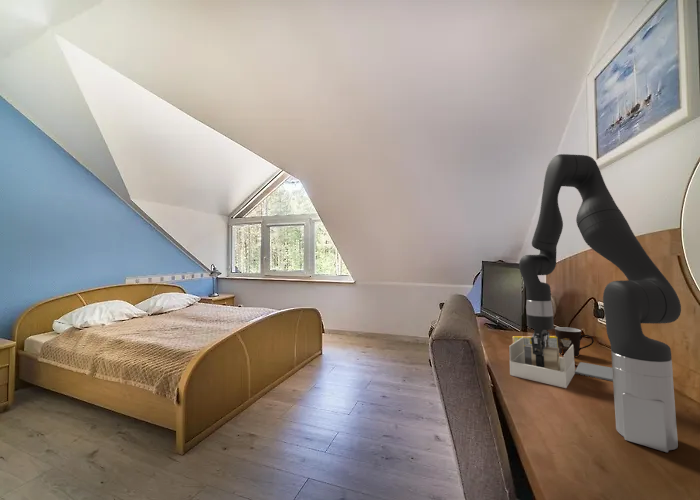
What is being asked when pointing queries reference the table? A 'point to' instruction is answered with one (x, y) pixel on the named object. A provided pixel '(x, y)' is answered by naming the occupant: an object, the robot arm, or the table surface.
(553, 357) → the birch block
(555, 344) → the candy box
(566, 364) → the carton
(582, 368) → the rubber mat
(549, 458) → the table surface
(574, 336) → the coffee mug
